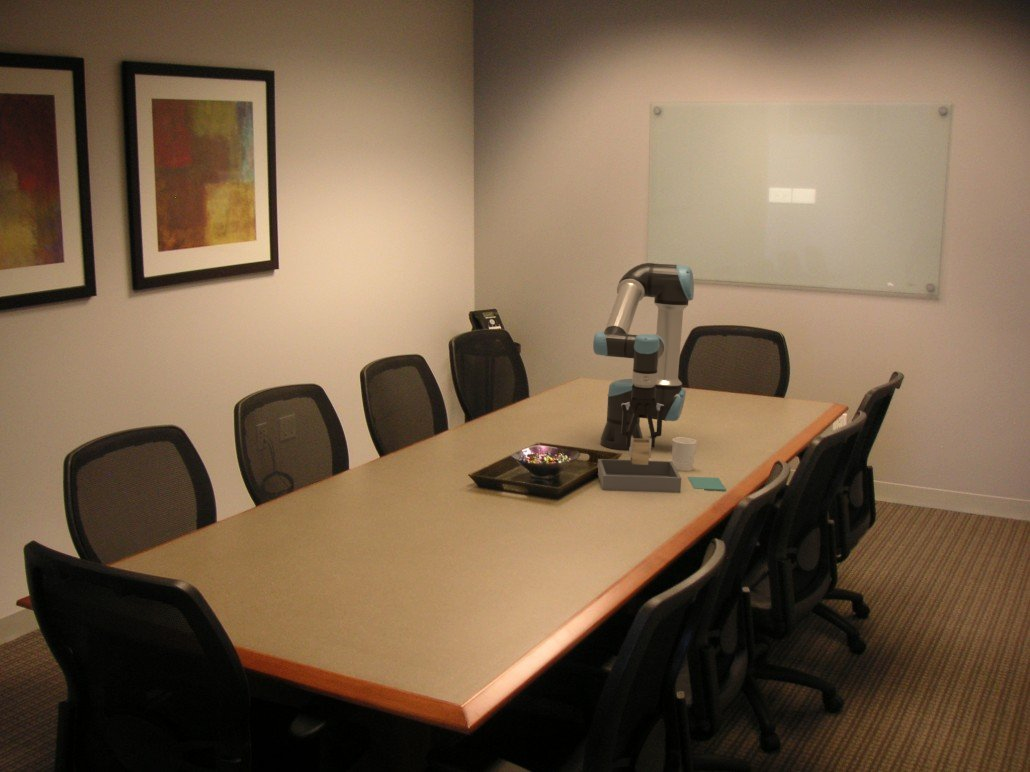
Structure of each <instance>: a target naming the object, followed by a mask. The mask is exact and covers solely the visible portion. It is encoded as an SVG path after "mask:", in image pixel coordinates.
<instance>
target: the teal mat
mask: <svg viewBox="0 0 1030 772" xmlns="http://www.w3.org/2000/svg"><path fill="white" fill-rule="evenodd" d="M687 479H688V481H689V483H690V484H691V486H692V488H693V489H694V490H703V491H705V490H713V491H712V492H726V491H727V488H726V487H725V486H724V484H723V482H722V481H721V480H720V478H719V477H709V476H708V477H707V476H706V477H705V476H687ZM714 490H716V491H714Z"/></svg>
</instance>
